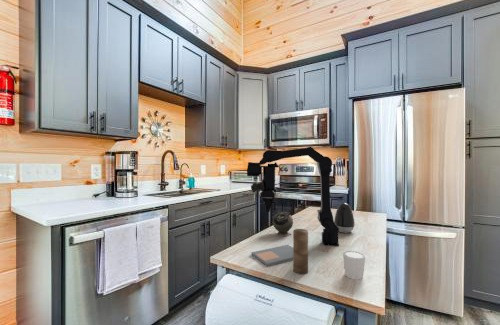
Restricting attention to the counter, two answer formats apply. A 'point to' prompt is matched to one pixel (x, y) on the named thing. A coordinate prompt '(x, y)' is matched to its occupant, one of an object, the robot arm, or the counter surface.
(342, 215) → the dark grey tapered dome
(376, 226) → the counter surface
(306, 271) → the walnut roller
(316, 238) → the counter surface
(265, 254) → the slate board
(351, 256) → the white cup
